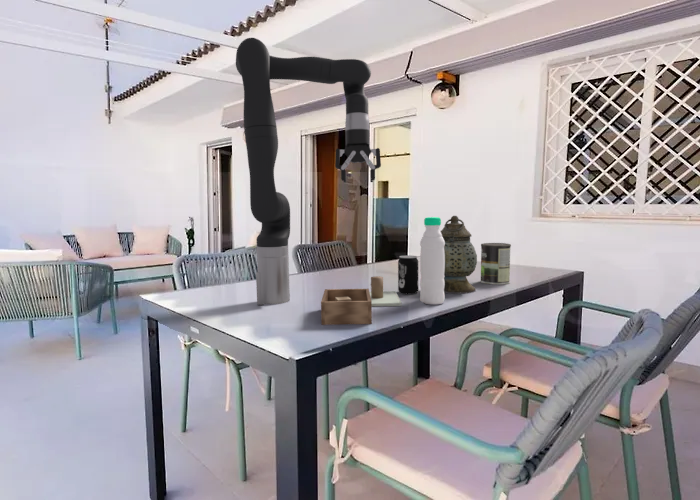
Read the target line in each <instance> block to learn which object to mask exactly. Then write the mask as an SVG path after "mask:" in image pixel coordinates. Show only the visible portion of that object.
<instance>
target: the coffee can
mask: <svg viewBox="0 0 700 500" xmlns="http://www.w3.org/2000/svg"><path fill="white" fill-rule="evenodd" d="M480 247H481V248H480V249H481V251H480V282H481V283H482V284H485V285H491V284H492V286H493V285H494V286H495V285H496V286H497V285H498V286H500V285H501V286H502V285H503V286H504V285H509V284H510V283H511V282H510V281H511V280H510V272H511V271H510V270H511V247H512V245H511V244H510V243H505V242H504V243H503V242H486V243H485V242H484V243H481V244H480Z"/></svg>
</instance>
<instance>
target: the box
mask: <svg viewBox="0 0 700 500" xmlns="http://www.w3.org/2000/svg"><path fill="white" fill-rule="evenodd" d="M370 292H371V291H370V289H369V288H329V289H324V291H323V294H322V297H321V298H322V299H321V300H320V315H321V316H320V318H321V319H320V321H321V323H320V324H321V325H322V326H327V325H328V326H329V325H331V326H332V325H372V324H373V322H372V321H373V314H372V313H373V312H372V311H373V308H372V307H373V306H372V301H371V297H370ZM347 296H348V297H349V298H351V301H335V297H347Z"/></svg>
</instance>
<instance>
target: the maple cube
mask: <svg viewBox="0 0 700 500" xmlns="http://www.w3.org/2000/svg"><path fill="white" fill-rule="evenodd" d="M335 301H351V298H349V297H348V296H347V297H335Z"/></svg>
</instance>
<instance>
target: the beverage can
mask: <svg viewBox="0 0 700 500" xmlns="http://www.w3.org/2000/svg"><path fill="white" fill-rule="evenodd" d="M397 269H398V270H397V271H398V272H397V276H398V277H397V278H398V279H397V282H398V283H397V284H398V285H397V290H398V292H399V293H400V294H403V295H416V294H417V293H418V292H419V259H418V256H417V255H411V254H410V255H399V259H398V262H397Z"/></svg>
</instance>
